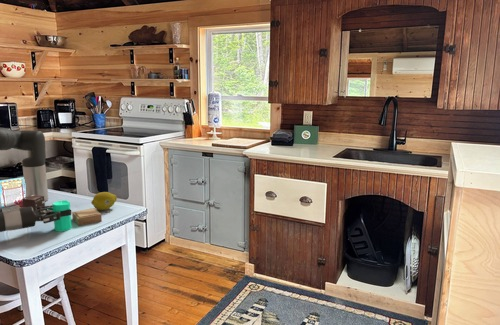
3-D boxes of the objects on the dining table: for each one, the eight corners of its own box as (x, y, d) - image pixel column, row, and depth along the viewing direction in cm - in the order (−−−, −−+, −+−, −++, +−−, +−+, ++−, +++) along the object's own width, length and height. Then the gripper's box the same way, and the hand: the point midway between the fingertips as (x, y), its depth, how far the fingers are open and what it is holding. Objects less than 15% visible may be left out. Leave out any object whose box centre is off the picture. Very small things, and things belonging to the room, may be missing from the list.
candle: (58, 232, 144) (56, 202, 141) (51, 228, 148) (49, 198, 145) (74, 228, 148) (72, 199, 146) (67, 224, 152) (65, 195, 150)
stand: (72, 218, 158) (72, 211, 157) (95, 214, 163) (94, 207, 163) (78, 225, 151) (77, 218, 150) (101, 221, 156) (101, 213, 156)
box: (35, 216, 159) (34, 200, 158) (23, 215, 160) (21, 198, 159) (46, 211, 165) (44, 195, 164) (33, 210, 166) (32, 194, 165)
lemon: (92, 213, 164) (91, 196, 163) (90, 208, 171) (89, 191, 169) (118, 210, 169) (117, 193, 167) (116, 205, 176) (115, 188, 174)
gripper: (20, 214, 132) (73, 205, 142) (15, 203, 143) (64, 196, 153) (23, 234, 133) (74, 224, 144) (17, 222, 144) (65, 213, 155)
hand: (69, 210), depth 148 cm, fingers closed on candle, 4 cm apart
